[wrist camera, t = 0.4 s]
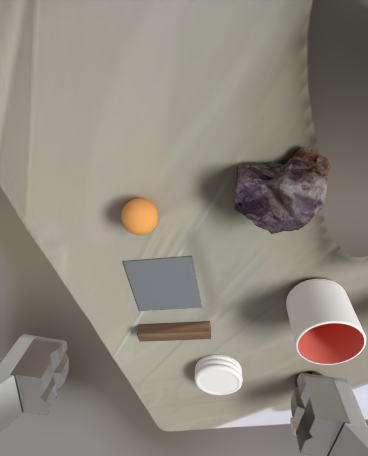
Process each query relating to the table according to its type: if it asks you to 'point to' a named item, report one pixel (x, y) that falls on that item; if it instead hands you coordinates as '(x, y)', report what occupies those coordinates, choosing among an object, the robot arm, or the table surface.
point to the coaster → (218, 374)
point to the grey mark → (164, 283)
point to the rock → (282, 191)
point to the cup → (324, 322)
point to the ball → (139, 216)
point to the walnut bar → (174, 331)
